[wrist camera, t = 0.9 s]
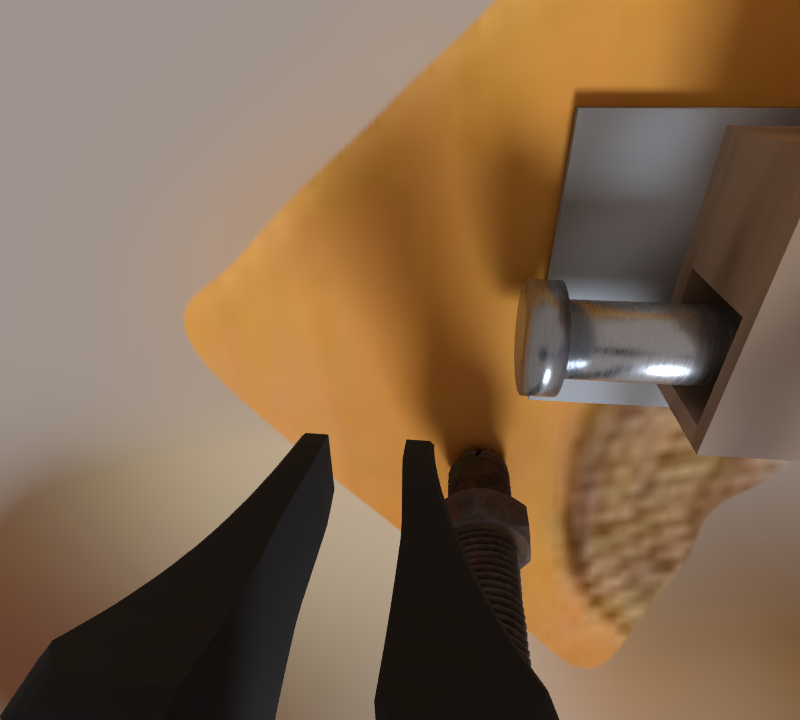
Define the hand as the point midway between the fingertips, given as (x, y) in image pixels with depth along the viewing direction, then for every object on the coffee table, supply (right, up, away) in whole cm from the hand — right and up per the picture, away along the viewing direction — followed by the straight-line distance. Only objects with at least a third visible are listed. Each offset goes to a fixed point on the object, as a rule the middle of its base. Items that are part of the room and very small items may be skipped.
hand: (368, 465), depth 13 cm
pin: (+11, +5, +7) cm, 13 cm away
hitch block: (+13, +6, +7) cm, 16 cm away
